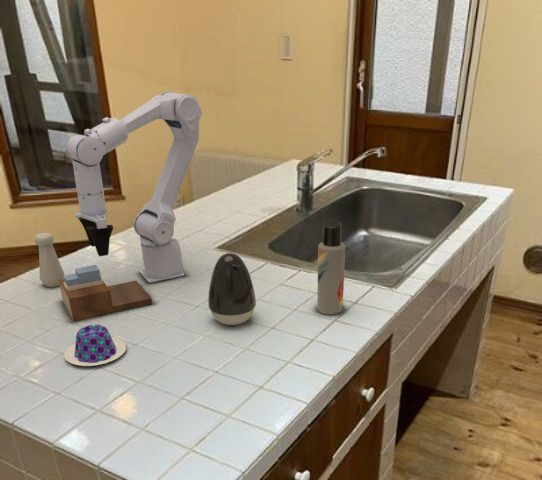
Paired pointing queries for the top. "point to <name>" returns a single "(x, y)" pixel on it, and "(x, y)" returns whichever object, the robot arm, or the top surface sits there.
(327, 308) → the lotion bottle
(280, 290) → the top surface
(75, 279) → the blue stepped block
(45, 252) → the salt shaker
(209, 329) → the top surface
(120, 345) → the patterned hat
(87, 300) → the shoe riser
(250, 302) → the dark egg shaped container
